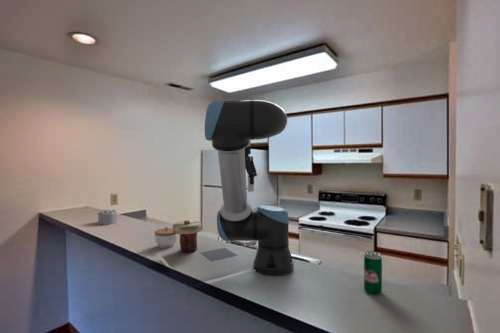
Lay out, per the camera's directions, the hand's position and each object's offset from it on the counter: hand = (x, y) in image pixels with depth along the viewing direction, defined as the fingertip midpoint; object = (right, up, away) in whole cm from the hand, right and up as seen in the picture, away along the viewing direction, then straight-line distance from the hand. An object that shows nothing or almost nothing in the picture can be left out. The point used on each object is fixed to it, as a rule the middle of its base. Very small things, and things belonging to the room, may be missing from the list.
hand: (243, 190), depth 130 cm
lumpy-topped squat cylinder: (-92, -27, +51) cm, 109 cm away
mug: (-25, -27, -11) cm, 38 cm away
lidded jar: (-37, -27, -1) cm, 46 cm away
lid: (-25, -17, -11) cm, 32 cm away
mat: (-10, -27, -15) cm, 32 cm away
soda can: (+41, -28, -47) cm, 68 cm away
